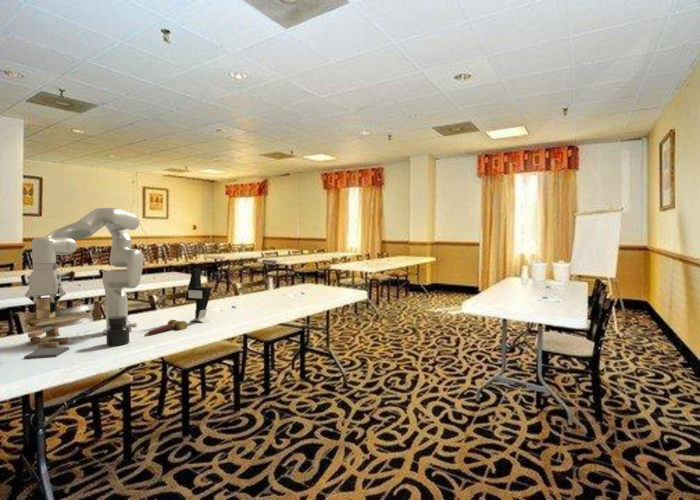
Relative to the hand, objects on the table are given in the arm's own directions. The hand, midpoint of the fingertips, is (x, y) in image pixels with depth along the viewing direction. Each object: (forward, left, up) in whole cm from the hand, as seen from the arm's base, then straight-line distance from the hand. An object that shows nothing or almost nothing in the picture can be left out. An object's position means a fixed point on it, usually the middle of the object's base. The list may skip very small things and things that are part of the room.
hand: (46, 311), depth 160 cm
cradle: (+4, -13, -18) cm, 22 cm away
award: (-51, -51, -18) cm, 74 cm away
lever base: (+14, -26, -18) cm, 34 cm away
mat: (0, 0, -18) cm, 18 cm away
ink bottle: (-23, -10, -18) cm, 31 cm away
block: (0, 0, -2) cm, 2 cm away
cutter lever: (+14, -24, -14) cm, 31 cm away
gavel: (-38, -30, -18) cm, 51 cm away
